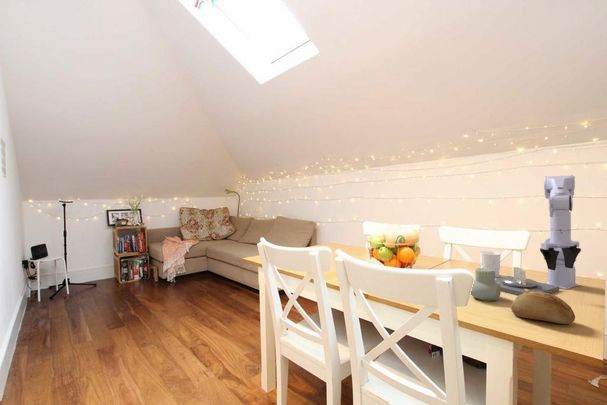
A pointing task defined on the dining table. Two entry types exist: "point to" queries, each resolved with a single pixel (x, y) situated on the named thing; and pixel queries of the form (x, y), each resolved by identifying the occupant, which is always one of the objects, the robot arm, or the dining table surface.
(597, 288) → the dining table surface
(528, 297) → the bread roll
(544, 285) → the dial base
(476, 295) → the air freshener
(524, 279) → the dial
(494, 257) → the white cup
